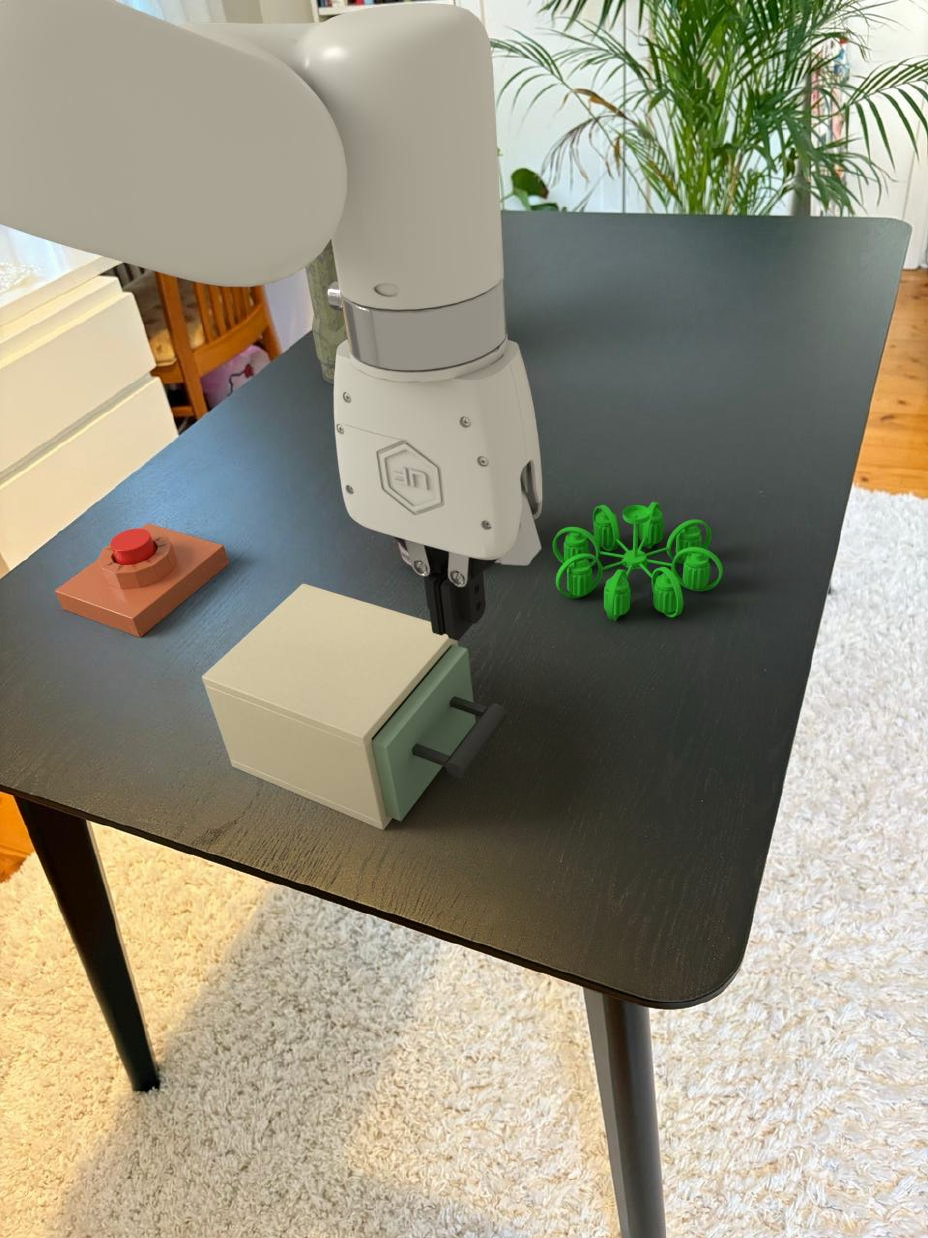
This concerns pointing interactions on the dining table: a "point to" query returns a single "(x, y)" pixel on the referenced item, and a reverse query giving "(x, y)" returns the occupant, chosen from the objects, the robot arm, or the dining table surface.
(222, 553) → the control block
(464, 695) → the drawer
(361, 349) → the robot arm
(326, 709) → the small storage cabinet
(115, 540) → the button
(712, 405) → the dining table surface
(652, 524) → the chandelier
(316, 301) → the grey tall cylindrical piece
